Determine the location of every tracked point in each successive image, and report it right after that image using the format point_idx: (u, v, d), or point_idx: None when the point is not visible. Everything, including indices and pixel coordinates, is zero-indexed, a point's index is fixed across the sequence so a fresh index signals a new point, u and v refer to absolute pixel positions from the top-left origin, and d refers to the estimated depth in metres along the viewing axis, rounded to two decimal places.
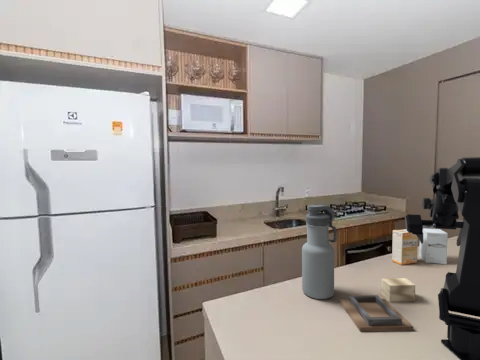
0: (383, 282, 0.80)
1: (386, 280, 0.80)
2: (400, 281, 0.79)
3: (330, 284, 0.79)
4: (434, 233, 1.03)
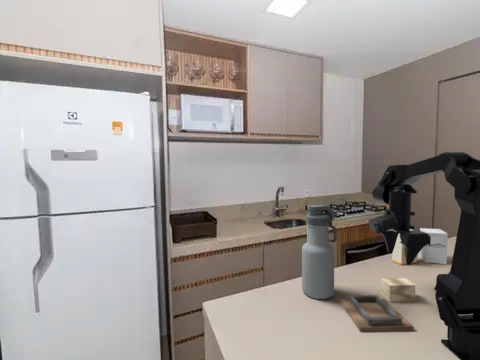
0: (383, 282, 0.80)
1: (386, 280, 0.80)
2: (400, 281, 0.79)
3: (330, 284, 0.79)
4: (434, 233, 1.03)
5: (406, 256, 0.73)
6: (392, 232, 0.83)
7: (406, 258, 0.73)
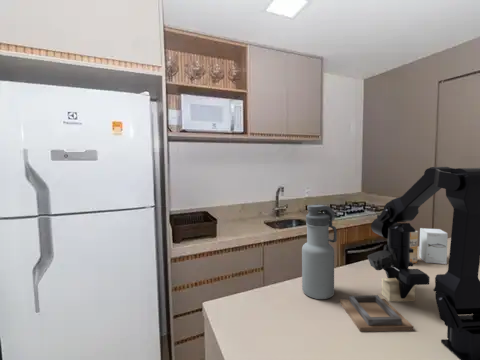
0: (383, 282, 0.80)
1: (386, 280, 0.80)
2: None
3: (330, 284, 0.79)
4: (434, 233, 1.03)
5: (400, 290, 0.76)
6: (395, 269, 0.81)
7: (400, 292, 0.76)
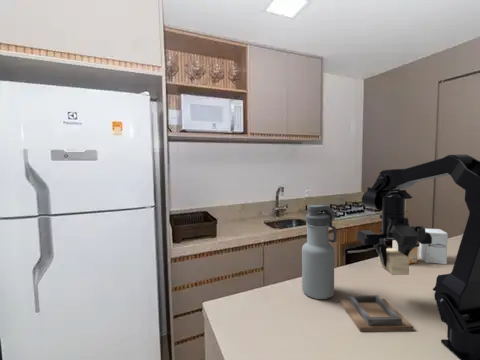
0: (396, 259, 0.72)
1: (396, 256, 0.73)
2: (392, 251, 0.76)
3: (330, 284, 0.79)
4: (434, 233, 1.03)
5: None
6: None
7: None
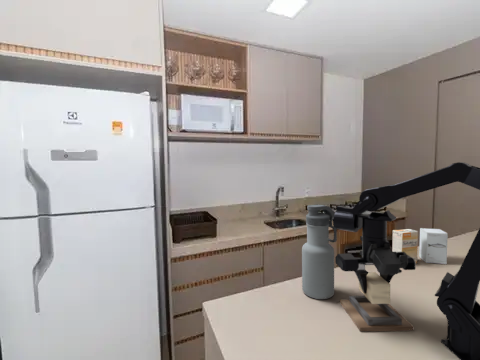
0: (376, 287, 0.66)
1: (376, 283, 0.66)
2: (373, 277, 0.70)
3: (330, 284, 0.79)
4: (434, 233, 1.03)
5: None
6: None
7: None
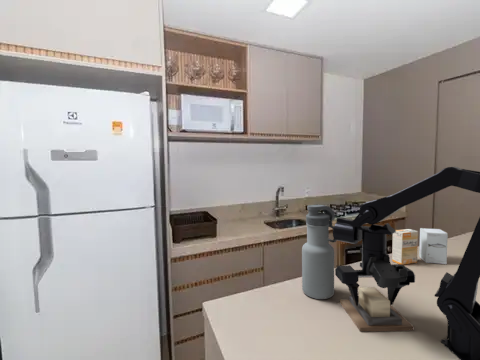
0: (376, 304, 0.66)
1: (376, 299, 0.67)
2: (372, 292, 0.70)
3: (330, 284, 0.79)
4: (434, 233, 1.03)
5: (395, 296, 0.69)
6: None
7: (394, 299, 0.69)
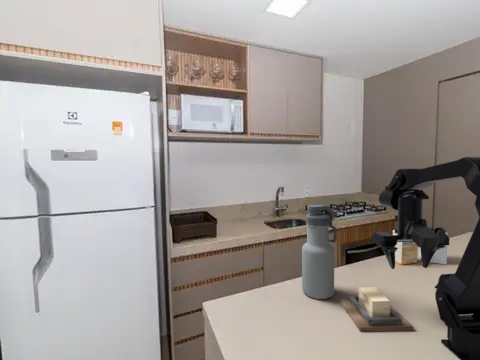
0: (376, 304, 0.66)
1: (376, 299, 0.67)
2: (372, 292, 0.70)
3: (330, 284, 0.79)
4: None
5: (429, 260, 0.72)
6: None
7: (428, 262, 0.72)
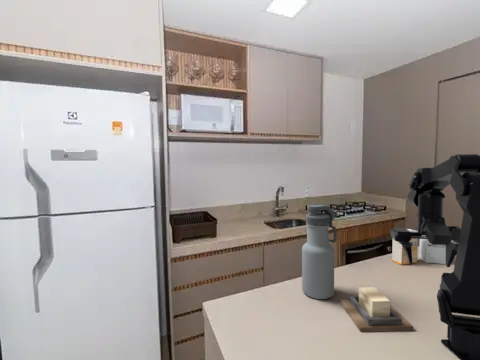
0: (376, 304, 0.66)
1: (376, 299, 0.67)
2: (372, 292, 0.70)
3: (330, 284, 0.79)
4: None
5: (452, 259, 0.73)
6: None
7: (451, 261, 0.73)
